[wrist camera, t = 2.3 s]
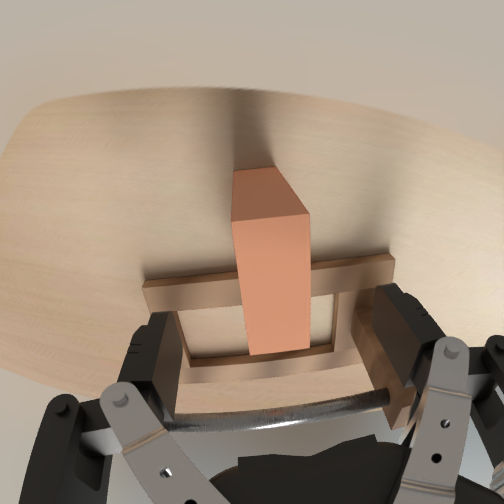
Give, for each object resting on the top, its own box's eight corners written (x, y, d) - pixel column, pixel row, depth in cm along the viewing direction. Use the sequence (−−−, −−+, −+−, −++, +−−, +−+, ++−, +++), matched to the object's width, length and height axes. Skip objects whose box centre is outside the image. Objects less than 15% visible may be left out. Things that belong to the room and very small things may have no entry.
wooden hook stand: (389, 253, 24) (468, 345, 13) (373, 352, 30) (414, 443, 19) (145, 280, 24) (96, 394, 13) (178, 375, 30) (163, 477, 19)
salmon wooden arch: (233, 171, 21) (231, 222, 11) (276, 166, 21) (309, 213, 11) (244, 259, 24) (249, 355, 14) (282, 254, 24) (309, 347, 14)
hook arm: (385, 383, 18) (399, 414, 16) (381, 394, 19) (393, 425, 16) (149, 409, 18) (142, 442, 16) (156, 419, 19) (150, 451, 16)
